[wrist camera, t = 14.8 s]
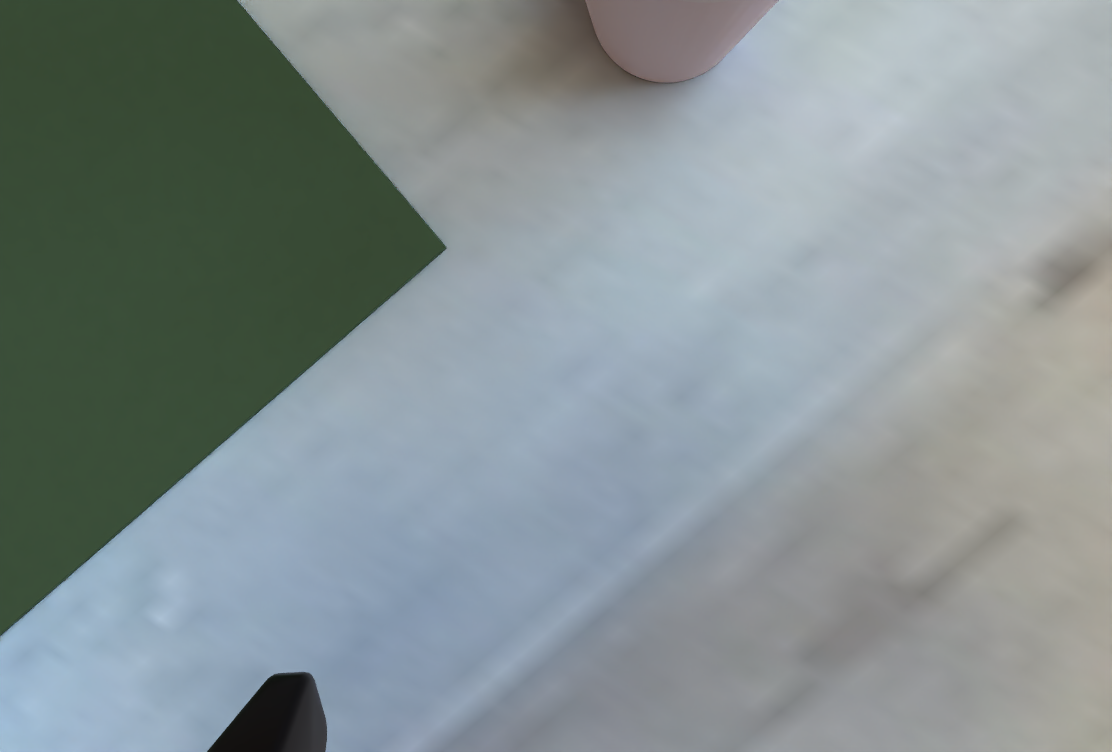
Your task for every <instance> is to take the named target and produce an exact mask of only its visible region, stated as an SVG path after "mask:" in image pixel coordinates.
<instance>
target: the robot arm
mask: <svg viewBox="0 0 1112 752" xmlns="http://www.w3.org/2000/svg"><path fill="white" fill-rule="evenodd" d="M326 742H327V724H326V718H325V715H324V711H323V708H322V704H321V701H320V697H319V694H318V690H317V687H316V683H315V680H314V678H313V676H312V675H311V674H310V673H307V672H295V673H278V674H274V675H273V676H271V677H270V678H268V679H267V680H266V681H265V683H264V684H263V685H262V686H261V687H260V689H259V690H258V691H257V692H256V693H255V695H254V696H253V697H252V698H251V699H250V701H249V702H248V703H247V704H246V705H245V707H244V708H243V709H242V710H241V711H240V713H239V714H238V715H237V716H236V717H235V719H234V720H233V721H232V722H231V723H230V725H229V726H228V727H227V728H226V729H225V731H224V732H223V733H222V734H221V736H220V737H219V738H218V739H217V740H216V742H215V743H214V744H213V745H212V746H211V748H210V749H209V750H208V751H207V752H325V751H326Z"/></svg>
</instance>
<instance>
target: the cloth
mask: <svg viewBox="0 0 1112 752" xmlns="http://www.w3.org/2000/svg"><path fill="white" fill-rule="evenodd" d="M445 249H446V246H445V245H444V244H443V243H442V241H441V240H440V239H439V238H438V237H437V236H436V234H435V233H434V232H433V231H432V230H431V229H430V227H429V226H428V225H427V224H426V223H425V221H424V220H423V219H422V218H421V217H420V216H419V214H418V213H417V212H416V211H415V210H414V208H413V207H412V206H411V205H410V204H409V203H408V201H407V200H406V199H405V198H404V197H403V196H402V194H401V193H400V192H399V191H398V190H397V188H396V187H395V186H394V185H393V184H392V183H391V181H390V180H389V179H388V178H387V177H386V176H385V174H384V173H383V172H382V171H381V170H380V168H379V167H378V166H377V165H376V164H375V163H374V161H373V160H372V159H371V158H370V157H369V156H368V154H367V153H366V152H365V151H364V150H363V148H362V147H361V146H360V145H359V144H358V143H357V141H356V140H355V139H354V138H353V137H352V136H351V134H350V133H349V132H348V131H347V130H346V128H345V127H344V126H343V125H342V124H341V123H340V121H339V120H338V119H337V118H336V117H335V116H334V114H333V113H332V112H331V111H330V110H329V108H328V107H327V106H326V105H325V104H324V103H323V101H322V100H321V99H320V98H319V97H318V96H317V94H316V93H315V92H314V91H313V90H312V88H311V87H310V86H309V85H308V84H307V83H306V81H305V80H304V79H303V78H302V77H301V75H300V74H299V73H298V72H297V71H296V70H295V68H294V67H293V66H292V65H291V64H290V63H289V61H288V60H287V59H286V58H285V57H284V55H283V54H282V53H281V52H280V51H279V50H278V48H277V47H276V46H275V45H274V44H273V43H272V41H271V40H270V39H269V38H268V37H267V35H266V34H265V33H264V32H263V31H262V30H261V28H260V27H259V26H258V25H257V24H256V23H255V21H254V20H253V19H252V18H251V17H250V15H249V14H248V13H247V12H246V11H245V10H244V8H243V7H242V6H241V5H240V4H239V3H238V1H237V0H0V636H1V635H2V634H3V633H4V632H5V631H7V630H8V629H9V628H10V627H11V626H12V625H13V624H15V623H16V622H17V621H18V620H19V619H20V618H21V617H23V616H24V615H25V614H26V613H27V612H28V611H30V610H31V609H32V608H33V607H34V606H35V605H36V604H38V603H39V602H40V601H41V600H42V599H43V598H45V597H46V596H47V595H48V594H49V593H50V592H51V591H53V590H54V589H55V588H56V587H57V586H58V585H59V584H61V583H62V582H63V581H64V580H65V579H66V578H68V577H69V576H70V575H71V574H72V573H73V572H74V571H76V570H77V569H78V568H79V567H80V566H81V565H83V564H84V563H85V562H86V561H87V560H88V559H89V558H91V557H92V556H93V555H94V554H95V553H96V552H97V551H99V550H100V549H101V548H102V547H103V546H104V545H106V544H107V543H108V542H109V541H110V540H111V539H112V538H114V537H115V536H116V535H117V534H118V533H119V532H121V531H122V530H123V529H124V528H125V527H126V526H127V525H129V524H130V523H131V522H132V521H133V520H134V519H135V518H137V517H138V516H139V515H140V514H141V513H142V512H144V511H145V510H146V509H147V508H148V507H149V506H150V505H152V504H153V503H154V502H155V501H156V500H157V499H159V498H160V497H161V496H162V495H163V494H164V493H165V492H167V491H168V490H169V489H170V488H171V487H172V486H173V485H175V484H176V483H177V482H178V481H179V480H180V479H182V478H183V477H184V476H185V475H186V474H187V473H188V472H190V471H191V470H192V469H193V468H194V467H195V466H197V465H198V464H199V463H200V462H201V461H202V460H203V459H205V458H206V457H207V456H208V455H209V454H210V453H211V452H213V451H214V450H215V449H216V448H217V447H218V446H220V445H221V444H222V443H223V442H224V441H225V440H226V439H228V438H229V437H230V436H231V435H232V434H233V433H235V432H236V431H237V430H238V429H239V428H240V427H241V426H243V425H244V424H245V423H246V422H247V421H248V420H250V419H251V418H252V417H253V416H254V415H255V414H256V413H258V412H259V411H260V410H261V409H262V408H263V407H264V406H266V405H267V404H268V403H269V402H270V401H271V400H273V399H274V398H275V397H276V396H277V395H278V394H279V393H281V392H282V391H283V390H284V389H285V388H286V387H288V386H289V385H290V384H291V383H292V382H293V381H294V380H296V379H297V378H298V377H299V376H300V375H301V374H302V373H304V372H305V371H306V370H307V369H308V368H309V367H311V366H312V365H313V364H314V363H315V362H316V361H317V360H319V359H320V358H321V357H322V356H323V355H324V354H326V353H327V352H328V351H329V350H330V349H331V348H332V347H334V346H335V345H336V344H337V343H338V342H339V341H340V340H342V339H343V338H344V337H345V336H346V335H347V334H349V333H350V332H351V331H352V330H353V329H354V328H355V327H357V326H358V325H359V324H360V323H361V322H362V321H364V320H365V319H366V318H367V317H368V316H369V315H370V314H372V313H373V312H374V311H375V310H376V309H377V308H378V307H380V306H381V305H382V304H383V303H384V302H385V301H387V300H388V299H389V298H390V297H391V296H392V295H393V294H395V293H396V292H397V291H398V290H399V289H400V288H402V287H403V286H404V285H405V284H406V283H407V282H408V281H410V280H411V279H412V278H413V277H414V276H415V275H416V274H418V273H419V272H420V271H421V270H422V269H423V268H425V267H426V266H427V265H428V264H429V263H430V262H431V261H433V260H434V259H435V258H436V257H437V256H438V255H440V254H441V253H442V252H443V251H444V250H445Z"/></svg>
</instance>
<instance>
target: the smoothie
mask: <svg viewBox="0 0 1112 752" xmlns="http://www.w3.org/2000/svg"><path fill="white" fill-rule="evenodd" d="M585 1H586V4H587V7H588V11H589V14H590V17H591V20H592V23H593V27H594V30H595V33H596V35H597V38H598V40H599V42H600V44H601V46H602V47H603V49H604V50H605V52H606V53H607V54H608V55H609V57H610V58H611V59H612V60H613V61H614V62H615V63H616V64H617V65H619V66H620V67H621V68H622V69H624V70H625V71H627V72H628V73H630V74H632V75H634V76H636V77H639V78H641V79H645V80H648V81H653V82H660V83H672V82H680V81H685V80H688V79H692V78H694V77H697V76H699V75H701V74H703V73H705V72H707V71H708V70H710V69H711V68H713V67H714V66H715V65H716V64H718V63H719V62H720V61H721V60H722V59H723V58H724V57H725V56H726V55H727V54H728V53H729V52H730V51H731V49H732V48H733V47H734V46H735V45H736V44H737V43H738V42H739V41H740V40H741V39H742V38H743V37H744V36H745V35H746V34H747V33H748V32H749V31H750V30H751V29H752V28H753V27H754V26H755V25H756V24H757V23H758V21H759V20H760V19H761V18H762V17H763V16H764V15H765V14H766V13H767V12H768V11H769V10H770V9H771V8H772V7H773V6H774V5H775V4H776V3H777V2H778V1H779V0H585Z"/></svg>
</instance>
